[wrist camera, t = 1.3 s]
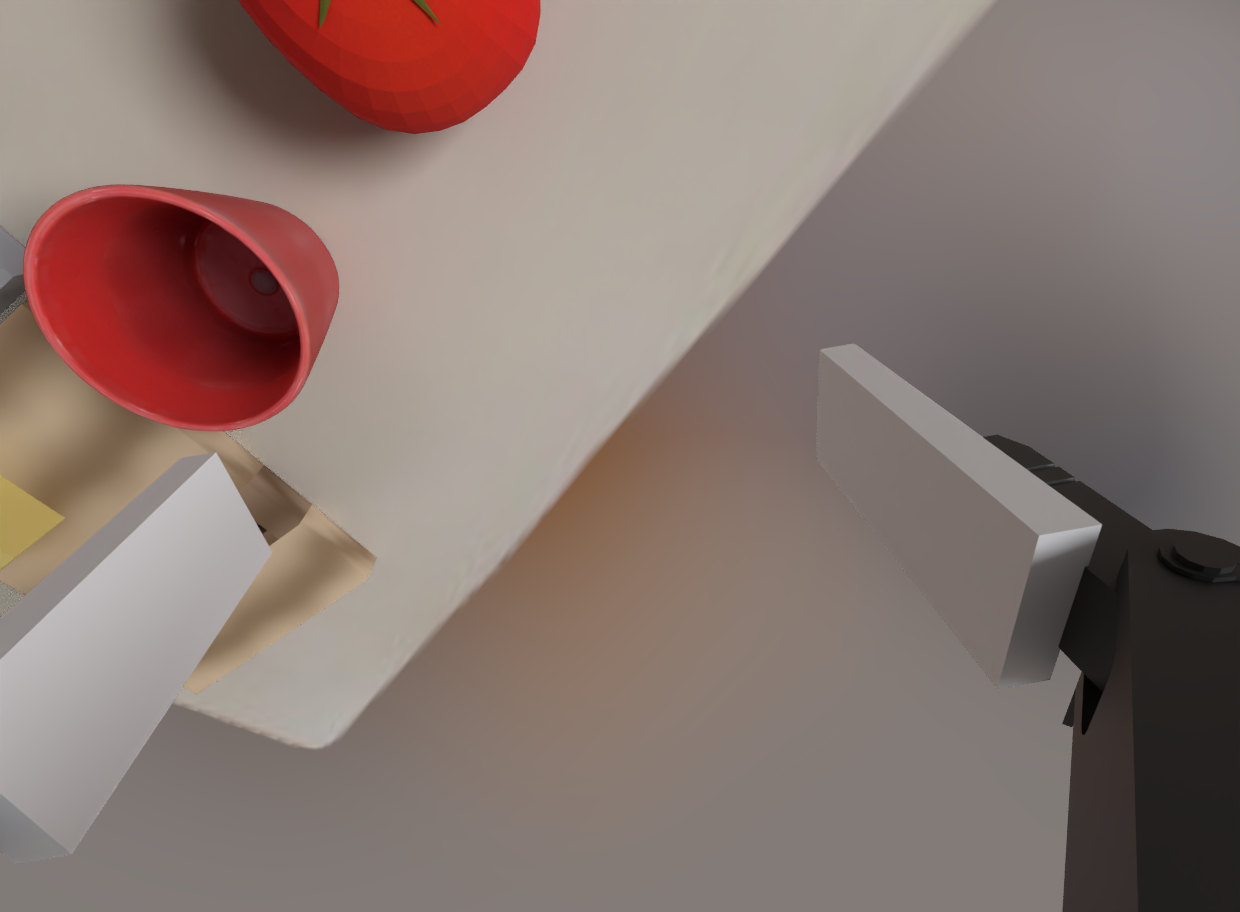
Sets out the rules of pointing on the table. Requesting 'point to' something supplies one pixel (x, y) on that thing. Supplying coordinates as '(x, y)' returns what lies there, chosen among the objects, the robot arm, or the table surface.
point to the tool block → (10, 269)
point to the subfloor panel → (130, 462)
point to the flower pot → (182, 301)
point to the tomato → (404, 53)
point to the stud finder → (21, 521)
